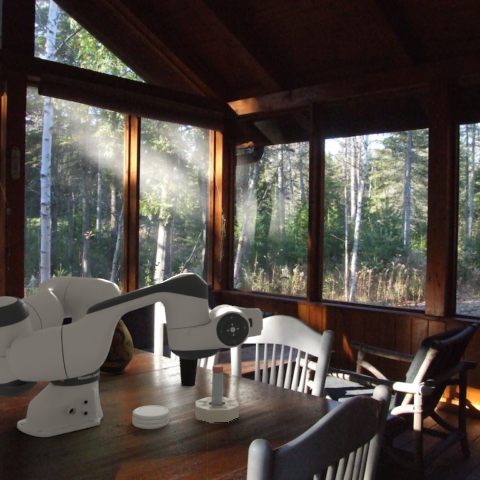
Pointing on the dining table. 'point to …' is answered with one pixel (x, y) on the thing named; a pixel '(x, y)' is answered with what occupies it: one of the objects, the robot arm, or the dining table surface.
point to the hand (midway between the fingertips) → (220, 319)
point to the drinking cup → (188, 371)
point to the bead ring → (216, 410)
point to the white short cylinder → (150, 417)
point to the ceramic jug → (118, 351)
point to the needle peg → (217, 385)
